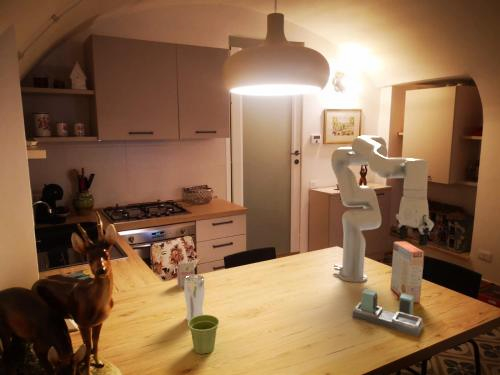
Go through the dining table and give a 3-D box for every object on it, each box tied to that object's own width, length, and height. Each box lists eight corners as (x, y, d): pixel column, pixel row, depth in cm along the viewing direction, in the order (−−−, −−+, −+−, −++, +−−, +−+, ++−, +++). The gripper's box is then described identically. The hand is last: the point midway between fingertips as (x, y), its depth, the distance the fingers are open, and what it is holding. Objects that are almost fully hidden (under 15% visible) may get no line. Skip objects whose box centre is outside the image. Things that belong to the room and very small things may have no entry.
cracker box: (421, 303, 145) (425, 251, 142) (406, 303, 145) (410, 251, 142) (403, 288, 159) (407, 240, 156) (389, 288, 158) (393, 241, 155)
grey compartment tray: (352, 317, 133) (352, 308, 133) (358, 309, 139) (359, 301, 139) (418, 337, 121) (419, 327, 120) (422, 327, 127) (423, 318, 126)
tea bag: (177, 284, 161) (177, 262, 159) (193, 282, 163) (192, 260, 161) (178, 288, 157) (178, 265, 156) (194, 285, 159) (194, 263, 158)
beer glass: (199, 325, 127) (198, 283, 125) (181, 321, 129) (180, 280, 127) (208, 315, 134) (207, 275, 131) (191, 312, 136) (190, 273, 134)
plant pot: (182, 353, 111) (181, 326, 110) (198, 337, 119) (198, 312, 118) (209, 361, 107) (209, 333, 106) (224, 344, 116) (224, 318, 114)
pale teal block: (397, 315, 135) (399, 297, 134) (400, 311, 138) (402, 293, 137) (409, 319, 133) (411, 300, 132) (412, 314, 136) (413, 296, 135)
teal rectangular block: (360, 311, 133) (362, 292, 132) (364, 307, 136) (365, 288, 135) (373, 314, 130) (374, 295, 129) (377, 310, 133) (378, 291, 132)
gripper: (389, 191, 138) (387, 236, 140) (424, 197, 122) (422, 249, 123) (406, 190, 140) (404, 235, 142) (443, 196, 124) (440, 247, 126)
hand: (412, 241), depth 133 cm, fingers open, 9 cm apart
